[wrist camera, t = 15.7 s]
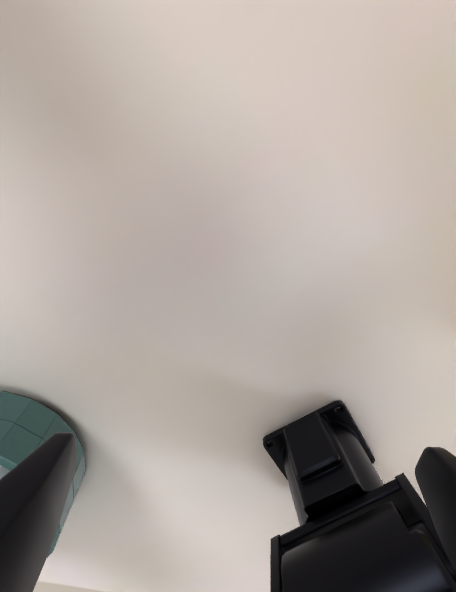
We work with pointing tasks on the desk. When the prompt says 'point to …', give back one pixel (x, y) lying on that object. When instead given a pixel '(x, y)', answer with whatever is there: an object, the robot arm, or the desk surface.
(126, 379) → the desk surface
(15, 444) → the bowl
